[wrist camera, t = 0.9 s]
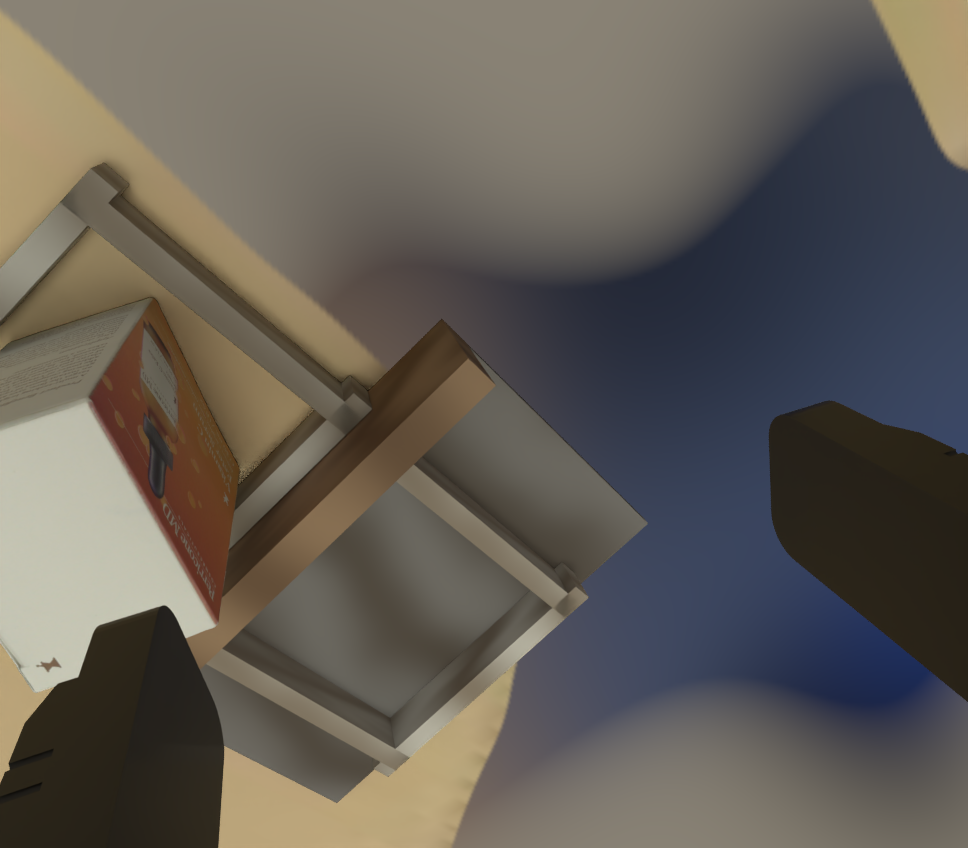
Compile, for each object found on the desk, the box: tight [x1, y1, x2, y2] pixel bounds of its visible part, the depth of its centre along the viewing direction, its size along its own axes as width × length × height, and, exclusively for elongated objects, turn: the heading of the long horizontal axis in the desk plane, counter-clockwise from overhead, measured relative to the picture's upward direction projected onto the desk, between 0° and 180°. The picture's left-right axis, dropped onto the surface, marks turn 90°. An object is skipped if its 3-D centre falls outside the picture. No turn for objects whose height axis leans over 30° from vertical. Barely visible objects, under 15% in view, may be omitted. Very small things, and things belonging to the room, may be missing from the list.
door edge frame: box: [0, 163, 648, 803], centre depth 30 cm, size 22×27×5 cm
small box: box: [0, 298, 240, 693], centre depth 24 cm, size 8×6×10 cm
